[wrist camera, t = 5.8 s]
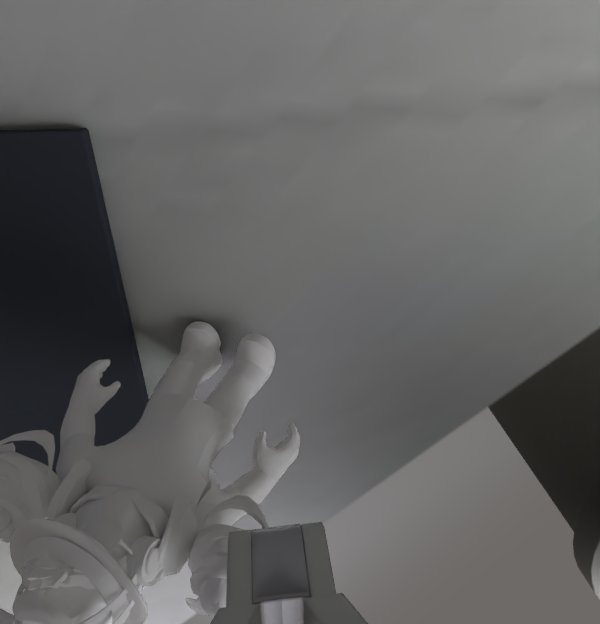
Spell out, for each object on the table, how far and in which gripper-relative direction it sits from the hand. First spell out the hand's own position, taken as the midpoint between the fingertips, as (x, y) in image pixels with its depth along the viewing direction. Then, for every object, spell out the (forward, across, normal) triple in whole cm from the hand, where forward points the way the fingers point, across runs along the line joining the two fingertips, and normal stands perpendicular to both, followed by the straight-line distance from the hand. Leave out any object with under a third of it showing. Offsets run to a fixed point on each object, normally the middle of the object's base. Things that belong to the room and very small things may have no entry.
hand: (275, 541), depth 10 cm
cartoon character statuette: (+10, +1, +1) cm, 10 cm away
